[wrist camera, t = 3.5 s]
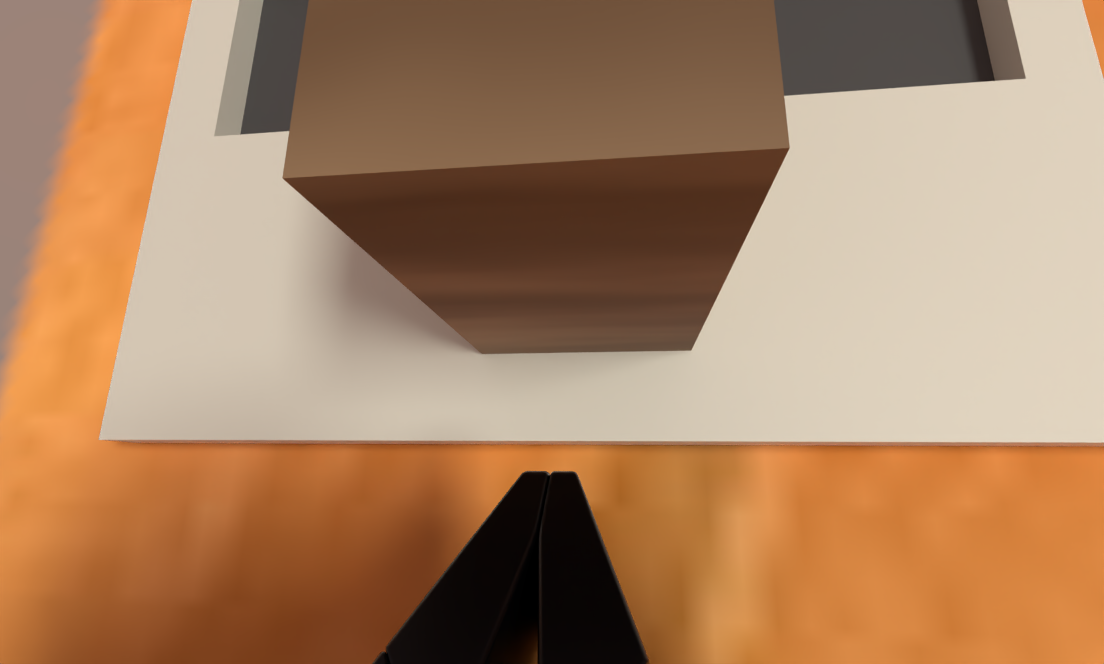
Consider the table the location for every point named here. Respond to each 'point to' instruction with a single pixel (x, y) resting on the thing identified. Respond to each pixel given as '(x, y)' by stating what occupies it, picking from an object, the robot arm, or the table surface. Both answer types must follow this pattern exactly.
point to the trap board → (744, 300)
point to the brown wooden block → (544, 157)
